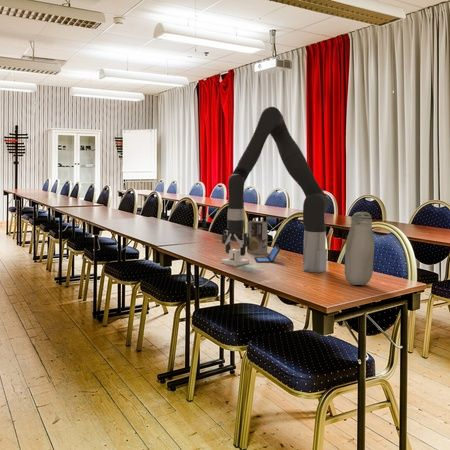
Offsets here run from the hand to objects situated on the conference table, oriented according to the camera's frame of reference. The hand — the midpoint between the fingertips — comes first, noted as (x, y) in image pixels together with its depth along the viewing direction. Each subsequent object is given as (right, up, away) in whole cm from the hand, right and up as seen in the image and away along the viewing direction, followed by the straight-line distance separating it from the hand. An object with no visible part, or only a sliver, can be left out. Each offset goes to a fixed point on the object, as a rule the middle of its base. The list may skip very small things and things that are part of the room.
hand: (235, 254), depth 220 cm
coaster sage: (+9, -6, -6) cm, 12 cm away
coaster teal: (+4, -6, -10) cm, 12 cm away
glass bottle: (+46, -10, -34) cm, 58 cm away
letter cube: (0, -4, +1) cm, 4 cm away
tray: (0, -5, +1) cm, 5 cm away
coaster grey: (+8, -7, -16) cm, 19 cm away
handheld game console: (+15, -4, +8) cm, 18 cm away
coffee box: (+12, -1, +32) cm, 34 cm away
